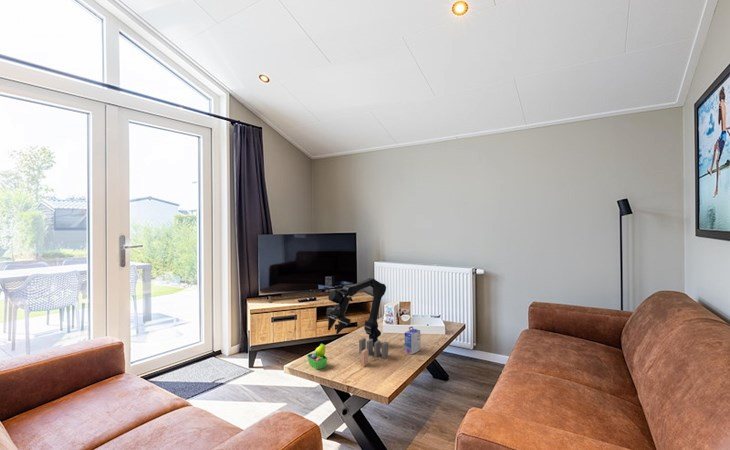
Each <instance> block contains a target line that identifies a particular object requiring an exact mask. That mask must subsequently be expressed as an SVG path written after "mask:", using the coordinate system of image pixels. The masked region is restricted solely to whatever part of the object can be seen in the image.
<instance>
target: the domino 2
mask: <svg viewBox="0 0 730 450" xmlns="http://www.w3.org/2000/svg"><path fill="white" fill-rule="evenodd" d="M368 364H369V355H368V349H367V348H366V349H364V350H363V351H361V354H360V366H361V367H363V368H364V367H366V366H367V365H368Z"/></svg>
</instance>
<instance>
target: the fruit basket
mask: <svg viewBox="0 0 730 450" xmlns="http://www.w3.org/2000/svg"><path fill="white" fill-rule="evenodd" d="M314 351H315V352H313V353H308V354H307V355H306V357H307V360H308V363H309V365H310V366H312V367H313V368H314V369H315V370H316V371H317V370H320V369H323V368H326V365H327V361H328V357H327V356H325V355H326V344H323V343H320V344H319V346H318V347H316V348H315V350H314Z"/></svg>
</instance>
